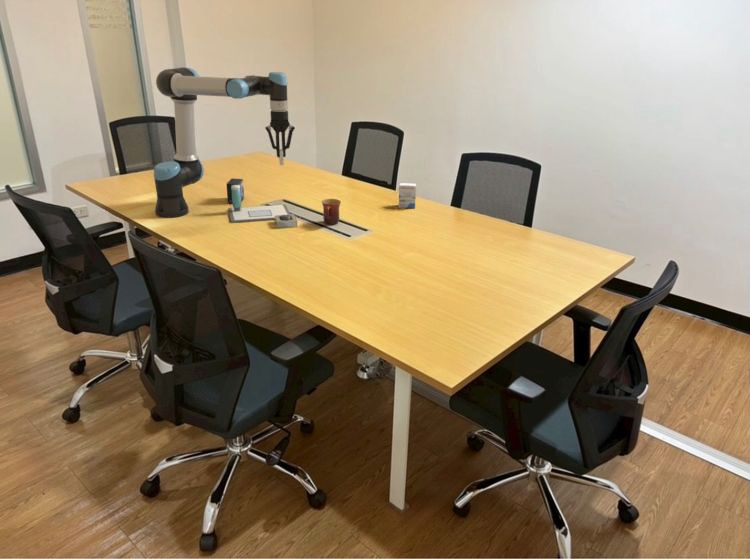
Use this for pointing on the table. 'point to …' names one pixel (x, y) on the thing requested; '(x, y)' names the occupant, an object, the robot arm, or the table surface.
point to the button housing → (285, 221)
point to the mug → (331, 211)
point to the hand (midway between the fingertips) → (281, 164)
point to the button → (285, 217)
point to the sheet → (257, 213)
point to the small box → (229, 191)
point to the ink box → (407, 195)
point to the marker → (236, 197)
